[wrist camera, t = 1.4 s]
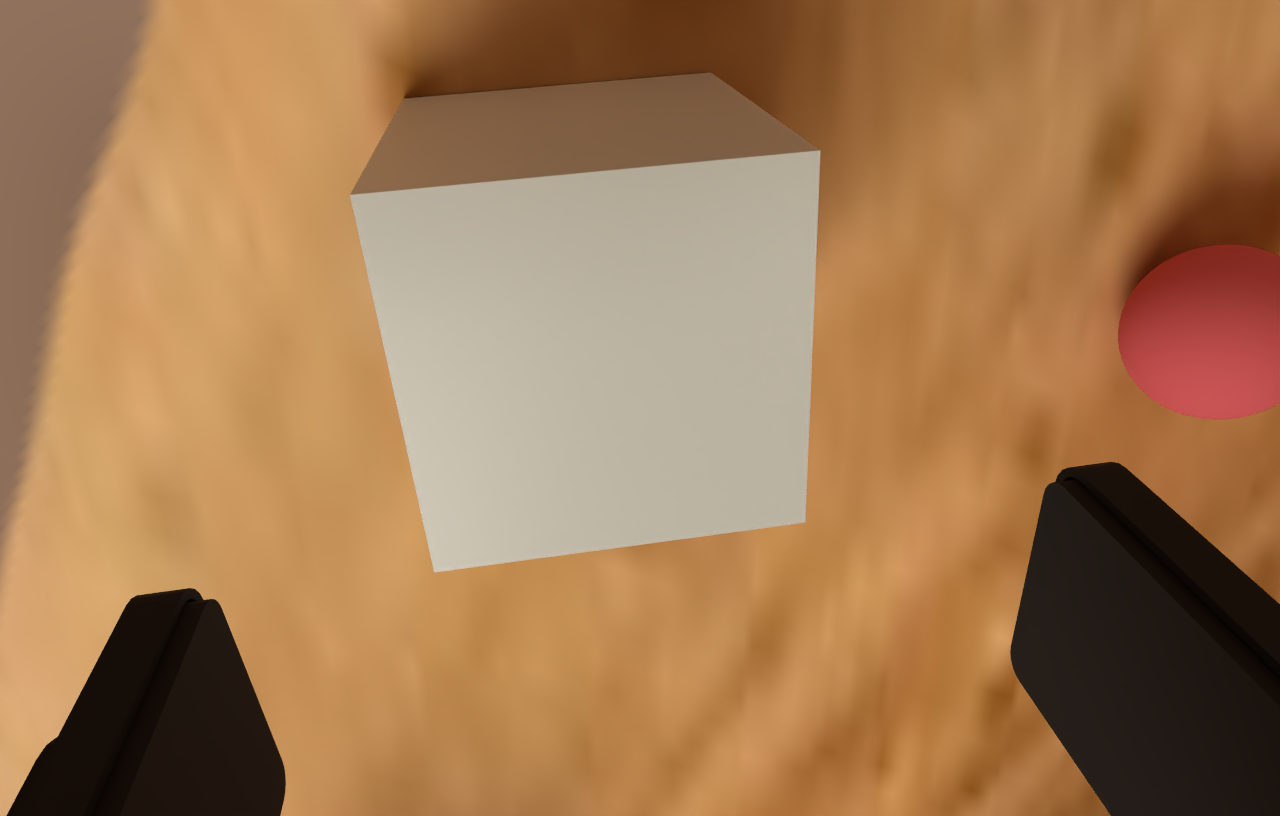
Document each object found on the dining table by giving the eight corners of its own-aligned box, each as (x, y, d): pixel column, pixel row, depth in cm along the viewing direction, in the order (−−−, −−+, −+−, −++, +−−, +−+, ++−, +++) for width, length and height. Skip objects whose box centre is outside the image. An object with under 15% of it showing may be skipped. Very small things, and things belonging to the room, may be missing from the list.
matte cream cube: (715, 346, 26) (805, 522, 18) (454, 376, 25) (434, 572, 18) (710, 72, 22) (820, 149, 15) (402, 98, 22) (349, 194, 14)
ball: (1213, 362, 29) (1340, 440, 25) (1070, 380, 28) (1172, 462, 24) (1257, 213, 26) (1405, 271, 22) (1100, 230, 26) (1221, 292, 22)
